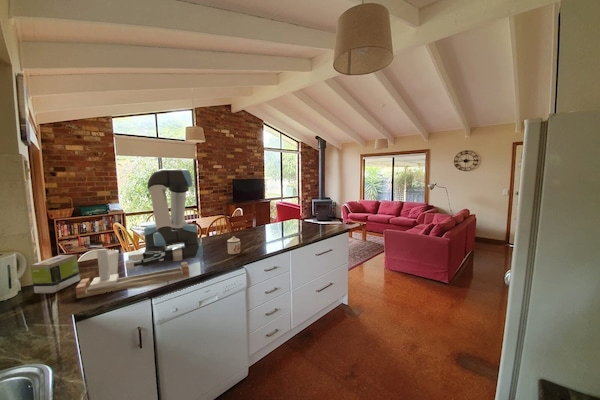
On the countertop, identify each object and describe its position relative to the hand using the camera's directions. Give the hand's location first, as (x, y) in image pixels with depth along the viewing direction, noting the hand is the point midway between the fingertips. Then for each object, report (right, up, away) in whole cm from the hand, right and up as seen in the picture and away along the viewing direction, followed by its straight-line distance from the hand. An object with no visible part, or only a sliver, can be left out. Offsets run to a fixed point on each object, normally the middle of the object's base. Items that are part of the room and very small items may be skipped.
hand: (127, 261), depth 131 cm
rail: (+4, -12, +3) cm, 13 cm away
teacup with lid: (+42, -6, +53) cm, 68 cm away
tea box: (-35, -13, 0) cm, 38 cm away
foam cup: (-20, -11, +15) cm, 27 cm away
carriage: (-8, -10, -4) cm, 13 cm away
